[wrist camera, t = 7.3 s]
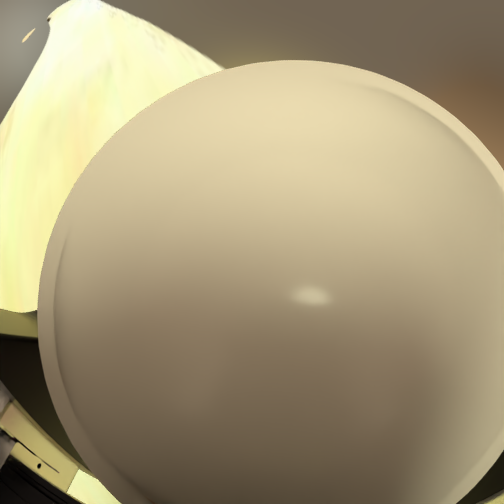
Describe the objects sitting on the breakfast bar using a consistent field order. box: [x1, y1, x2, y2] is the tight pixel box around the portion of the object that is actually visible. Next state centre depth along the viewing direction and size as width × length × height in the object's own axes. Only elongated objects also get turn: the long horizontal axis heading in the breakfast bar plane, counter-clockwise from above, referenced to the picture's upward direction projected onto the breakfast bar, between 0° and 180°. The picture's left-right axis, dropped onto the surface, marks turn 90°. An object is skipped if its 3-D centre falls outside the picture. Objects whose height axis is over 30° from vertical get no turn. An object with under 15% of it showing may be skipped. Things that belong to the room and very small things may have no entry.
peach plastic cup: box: [37, 60, 504, 504], centre depth 9 cm, size 9×7×13 cm
